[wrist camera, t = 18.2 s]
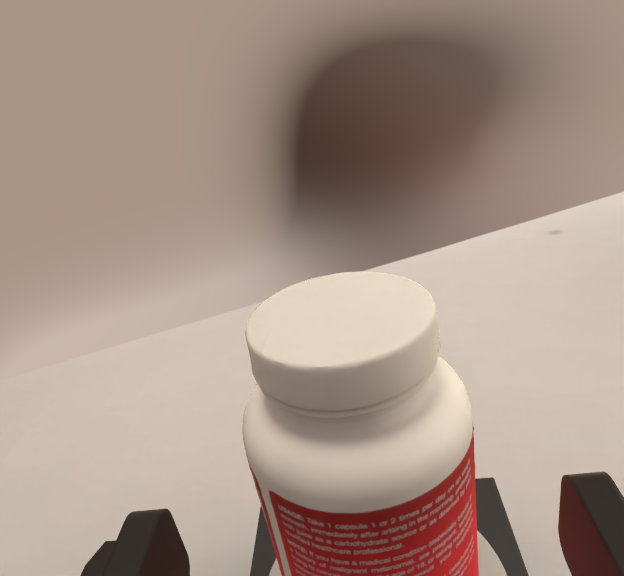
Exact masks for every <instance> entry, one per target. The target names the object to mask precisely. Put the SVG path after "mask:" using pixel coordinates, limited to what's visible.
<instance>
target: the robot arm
mask: <svg viewBox="0 0 624 576" xmlns="http://www.w3.org/2000/svg"><path fill="white" fill-rule="evenodd" d="M558 529H559V538H560V543H561V547H562V551H563V554H564V557H565V560H566V562H567V565H568V567H569V569H570V572H571V574H572V576H624V497H623V496H622V494H621V492H620V491H619V489H618V488H617V486H616V484H615V483H614V481H613V480H612V478H611V477H610V476H609V475H608V474H607V473H605V472H595V473H583V474H572V475H564V476H563V477H562V481H561V495H560V510H559V526H558ZM81 576H190V565H189V558H188V554H187V552H186V549H185V547H184V544H183V542H182V539H181V537H180V534H179V532H178V529H177V527H176V524H175V522H174V519H173V517H172V515H171V513H170V511H169V510H168V509H159V510H147V511H136V512H131V513H130V514H129V515H128V516H127V518H126V520H125V522H124V524H123V526H122V529H121V531H120V533H119V536H118V538H117V540H116V541H106V542H105V543H104V544H103V545H102V546H101V548H100V549H99V550H98V551H97V552H96V553H95V555H94V556H93V557H92V558H91V559H90V561H89V562H88V563H87V564H86V565H85V567H84V569H83V572H82V574H81Z"/></svg>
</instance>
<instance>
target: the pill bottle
mask: <svg viewBox="0 0 624 576" xmlns="http://www.w3.org/2000/svg"><path fill="white" fill-rule="evenodd" d="M246 341H247V345H248V349H249V353H250V358H251V364H252V371H253V375H254V377H255V379H256V381H257V383H258V384H257V385H256V386H255V388H254V390H253V392H252V394H251V395H250V398H249V400H248V403H247V405H246V408H245V412H244V417H243V430H242V431H243V440H244V445H245V450H246V455H247V459H248V463H249V466H250V470H251V472H252V475H253V479H254V482H255V486H256V489H257V492H258V496H259V499H260V502H261V506H262V509H263V513H264V516H265V519H266V523H267V526H268V529H269V533H270V537H271V540H272V544H273V547H274V551H275V554H276V558H277V561H278V564H279V568H280V571H281V575H282V576H479V570H478V543H477V517H476V489H475V461H474V436H473V431H474V427H473V420H472V410H471V405H470V400H469V397H468V394H467V391H466V389H465V386H464V385H463V383H462V381H461V379H460V378H459V376H458V375H457V374H456V372H455V371H454V370H453V369H452V368H451V367H450V366H449V365H448V364H447V363H446V362H445V361H444V360H443V359H442V358H440V357H439V356H438V355H439V351H440V337H439V329H438V322H437V313H436V306H435V302H434V300H433V298H432V296H431V294H430V293H429V292H428V291H427V290H426V288H424V287H423V286H422V285H420V284H418V283H417V282H415V281H413V280H411V279H408V278H405V277H402V276H398V275H393V274H389V273H381V272H345V273H337V274H331V275H326V276H320V277H317V278H313V279H309V280H306V281H302V282H299V283H297V284H294V285H292V286H289V287H287V288H285V289H283V290H281V291H279V292H277V293H275V294H274V295H272V296H270V297H269V298H267V299H266V300H265V301H263V302H262V303H261V304H260V305H259V306H258V307H257V308H256V309H255V310H254V312H253V313H252V314H251V316H250V317H249V319H248V322H247V326H246Z"/></svg>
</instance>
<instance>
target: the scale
mask: <svg viewBox="0 0 624 576" xmlns="http://www.w3.org/2000/svg"><path fill="white" fill-rule="evenodd" d="M475 489H476V517H477V543H478V570H479V576H528V573H527V570H526V567H525V564H524V562H523V559H522V556H521V553H520V550H519V548H518V545H517V542H516V539H515V536H514V534H513V531H512V528H511V525H510V522H509V520H508V517H507V514H506V511H505V508H504V506H503V503H502V500H501V497H500V494H499V491H498V489H497V486H496V483H495V480H494V478H481V479H475ZM250 576H282V575H281V571H280V568H279V564H278V561H277V558H276V554H275V551H274V547H273V544H272V540H271V537H270V533H269V529H268V526H267V523H266V519H265V516H264V513H263V509H262V506H261V509H260V515H259V522H258V528H257V535H256V541H255V548H254V554H253V560H252V567H251V573H250Z"/></svg>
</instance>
